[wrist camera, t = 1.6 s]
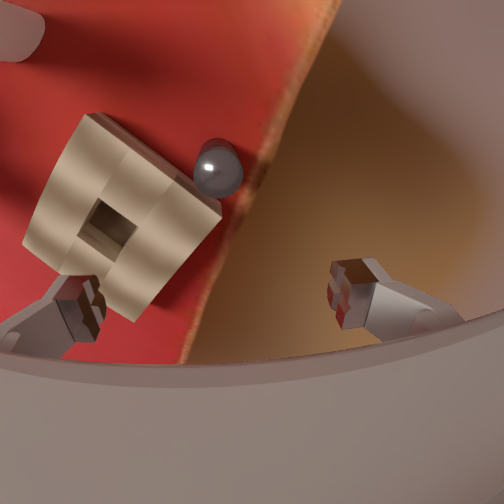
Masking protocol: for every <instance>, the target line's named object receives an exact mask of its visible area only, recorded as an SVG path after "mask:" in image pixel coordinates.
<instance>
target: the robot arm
mask: <svg viewBox="0 0 504 504" xmlns="http://www.w3.org/2000/svg"><path fill="white" fill-rule="evenodd" d="M330 273H331V275H332V277H333V278H332V279H331V280H330V281H329V283H328V289H327V295H328V301H329V305H330V307H331V309H333V310H334V311H336V319H337V321H338V323H339V325H340V327H341V329H342V330H344V329H352V328H360V327H364V328H365V329H366V330H368V331H369V332H370V333H372V334H373V335H375V336H376V337H377V338H379V339H380V340H381V341H383V343H378V344H372V345H368V346H362V347H356V348H351V349H345V350H339V351H333V352H327V353H319V354H312V355H305V356H297V357H288V358H280V359H269V360H259V361H246V362H232V363H215V364H214V363H213V364H179V365H151V364H117V363H99V362H86V361H74V360H64V359H59V358H61V357H62V356H63V355H64V354H65V353H66V352H67V351H68V350H69V349H70V348H71V347H72V346H73V345H74V344H75V342H89V343H95V341H96V339H97V336H98V334H99V332H100V328H99V324H101V323H102V322H103V321H104V319H105V317H106V309H107V307H106V301H105V298H104V295H103V294H102V293H101V292H100V291H99V287H100V283H99V280H98V277H97V276H96V275H95V274H83V275H60V276H58V277H57V278H56V280H55V281H54V283H53V284H52V285H51V287H50V288H49V289H48V291H47V292H46V294H45V295H44V296H43V298H42V299H41V300H37V301H35V302H34V303H32V304H30V305H29V306H27V307H26V308H24V309H22V310H21V311H19V312H18V313H16V314H14V315H13V316H11V317H10V318H8V319H7V320H5V321H4V322H2V323H0V504H504V309H502V310H499V311H496V312H493V313H491V314H487V315H485V316H481V317H479V318H475V319H472V320H469V321H465V320H464V319H463V318H462V317H461V316H460V315H459V313H458V312H457V311H456V310H455V309H454V308H453V306H452V305H450V304H449V303H446V302H444V301H442V300H440V299H438V298H436V297H433V296H431V295H429V294H427V293H424V292H422V291H420V290H418V289H416V288H414V287H411V286H409V285H407V284H405V283H402V282H400V281H398V280H392V278H391V277H390V276H389V275H388V274H387V273H386V271H385V270H384V269H383V268H382V267H381V266H380V264H379V263H378V262H377V261H376V260H375V259H374V258H372V257H368V258H360V259H349V260H339V261H332V264H331V267H330Z"/></svg>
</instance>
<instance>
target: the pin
mask: <svg viewBox="0 0 504 504" xmlns="http://www.w3.org/2000/svg"><path fill="white" fill-rule="evenodd" d="M193 178H194V182H195V185H196V187H197V188H198V189H199V191H200V192H201V193H203V194H204V195H206V196H208V197H211V198H225V197H228V196H230V195H232V194H233V193H234V192H236V191H237V190H238V188H239V187H240V185H241V183H242V180H243V168H242V165H241V163H240V161H239V159H238V157H237V154H236V152H235V150H234V148H233V146H232V145H231V144H230V143H229V142H228V141H226V140H224V139H221V138H214V139H210V140H208V141H207V142H205V143H204V144H203V146H202V147H201V149H200V152H199V155H198V158H197V161H196V164H195V167H194V172H193Z"/></svg>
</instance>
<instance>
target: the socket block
mask: <svg viewBox="0 0 504 504" xmlns="http://www.w3.org/2000/svg"><path fill="white" fill-rule="evenodd" d="M221 219H222V208H221V202H220V201H218V200H217V199H216V198H211V197H208V196H206V195H204V194H203V193H201V192H200V191H199V189H198V188H197V187H196V185H195V182H194V181H193V180H191V179H190V178H189V177H187V176H186V175H185V174H183V173H182V172H181V171H180V170H178V169H177V168H176V167H174V166H173V165H172V164H170V163H169V162H168V161H166V160H165V159H164V158H163V157H161V156H160V155H159V154H157V153H156V152H155V151H153V150H152V149H151V148H149V147H148V146H147V145H145V144H144V143H143V142H141V141H140V140H139V139H137V138H136V137H135V136H133V135H132V134H131V133H129V132H128V131H127V130H125V129H124V128H123V127H121V126H120V125H119V124H117V123H116V122H115V121H113V120H112V119H111V118H109V117H108V116H107V115H105V114H104V113H103V112H101V113H91V114H85V115H84V117H83V118H82V120H81V121H80V123H79V125H78V126H77V128H76V130H75V131H74V133H73V135H72V136H71V138H70V140H69V142H68V143H67V145H66V147H65V149H64V150H63V152H62V154H61V156H60V158H59V160H58V162H57V164H56V165H55V167H54V169H53V171H52V173H51V175H50V178H49V180H48V182H47V184H46V186H45V188H44V190H43V192H42V195H41V197H40V199H39V202H38V204H37V206H36V209H35V211H34V213H33V216H32V218H31V221H30V224H29V226H28V229H27V232H26V234H25V237H24V240H23V243H22V245H23V246H24V247H26V248H27V249H28V250H29V251H31V252H32V253H33V254H34V255H36V256H37V257H38V258H40V259H41V260H42V261H43V262H45V263H46V264H47V265H49V266H50V267H51V268H53V269H54V270H55V271H57V272H58V273H59V274H61V275H83V274H95V275H96V276H97V277H98V280H99V283H100V287H99V291H100V292H101V293H102V294H103V295H104V298H105V301H106V306H108V307H109V308H111V309H113V310H114V311H116V312H117V313H119V314H121V315H122V316H124V317H126V318H127V319H129V320H131V321H132V322H135V321H136V320H137V318H138V317H139V316H140V315H141V313H142V312H143V311H144V310H145V309H146V307H147V306H148V305H149V304H150V302H151V301H152V300H153V299H154V297H155V296H156V295H157V294H158V293H159V291H160V290H161V289H162V288H163V287H164V285H165V284H166V283H167V282H168V280H169V279H170V278H171V277H172V276H173V275H174V273H175V272H176V271H177V270H178V269H179V267H180V266H181V265H182V264H183V263H184V261H185V260H186V259H187V258H188V257H189V256H190V254H191V253H192V252H193V251H194V250H195V249H196V247H197V246H198V245H199V244H200V243H201V242H202V240H203V239H204V238H205V237H206V236H207V235H208V234H209V232H210V231H211V230H212V229H213V228H214V227H215V226H216V224H217V223H218V222H219V221H220V220H221Z"/></svg>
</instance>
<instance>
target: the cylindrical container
mask: <svg viewBox="0 0 504 504" xmlns="http://www.w3.org/2000/svg"><path fill="white" fill-rule="evenodd" d="M44 31H45V21H44V18H43V17H42V16H41V15H40V14H38V13H36V12H33V11H30V10H28V9H25V8H23V7H20V6H17V5H14V4H11V3H8V2H5V1H2V0H0V61H6V62H20V61H23V60H24V59H26V58H28V57H29V56H30V55H31V54H32V53H33V52H34V51H35V50H36V48H37V47H38V45H39V44H40V42H41V40H42V37H43V35H44Z"/></svg>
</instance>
